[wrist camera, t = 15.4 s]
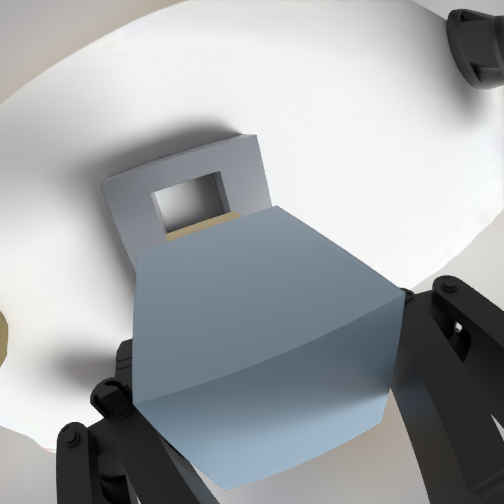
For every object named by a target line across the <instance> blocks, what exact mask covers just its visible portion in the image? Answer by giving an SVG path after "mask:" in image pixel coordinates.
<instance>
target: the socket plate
mask: <svg viewBox="0 0 504 504" xmlns="http://www.w3.org/2000/svg"><path fill="white" fill-rule="evenodd" d="M211 173H214V177H215V181H216V184H217V188H218V192H219V195H220V199H221V203H222V207H223V210H224V214H226V213H229V212H232V211H235V210H236V211H237V212H238V213H239V214H240V215H241V216H245V215H248V214H251V213H254V212H258V211H261V210H264V209H267V208H270V207H272V204H271V199H270V194H269V190H268V185H267V180H266V176H265V171H264V167H263V162H262V158H261V153H260V149H259V144H258V140H257V135H247V134H242V135H238V136H234V137H230V138H227V139H223V140H219V141H215V142H212V143H208V144H205V145H201V146H198V147H194V148H191V149H188V150H185V151H181V152H178V153H175V154H172V155H169V156H166V157H163V158H160V159H157V160H154V161H151V162H148V163H145V164H142V165H140V166H137V167H134V168H131V169H129V170H126V171H123V172H121V173H118V174H116V175H113V176H111V177H108V178H107V179H106V180H105V181H104V182H103V183H102V184H101V187H102V190H103V193H104V196H105V199H106V201H107V204H108V207H109V210H110V212H111V215H112V218H113V220H114V223H115V225H116V228H117V230H118V233H119V235H120V238H121V240H122V243H123V245H124V248H125V250H126V252H127V255H128V257H129V259H130V262H131V264H132V266H133V268H134V271H135V273H136V275H137V264H138V255H139V252H141V251H144V250H146V249H149V248H152V247H155V246H157V245H160V244H163V243H166V242H167V239H166V234H167V233H168V232H167V229H166V226H165V223H164V221H163V218H162V215H161V212H160V209H159V206H158V203H157V200H156V197H155V194H154V192H156V191H159V190H161V189H164V188H167V187H170V186H173V185H176V184H179V183H182V182H185V181H188V180H192V179H195V178H198V177H201V176H204V175H207V174H211Z"/></svg>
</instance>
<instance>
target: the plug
mask: <svg viewBox="0 0 504 504" xmlns="http://www.w3.org/2000/svg"><path fill="white" fill-rule="evenodd" d="M166 239H167V242H166V243H163V244H160V245H157V246H155V247H152V248H149V249H146V250H144V251H141V252H139V255H138V264H137V275H136V287H135V300H134V318H133V346H132V387H133V405H134V406H135V407H136V408H137V409H138V410H139V411H140V412H141V414H142V415H143V416H144V417H145V418H146V419H147V420H148V421H149V422H150V423H151V424H152V425H153V427H154V428H155V429H156V430H157V431H158V432H159V433H160V434H161V435H162V436H163V437H164V438H165V439H166V440H167V441H168V442H169V443H170V444H171V445H172V446H173V447H174V448H175V449H177V450H178V451H179V452H180V453H181V454H182V455H183V456H184V457H185V458H186V459H187V460H188V461H190V462H191V463H192V464H193V465H194V466H195V467H196V468H197V469H199V470H200V471H201V472H202V473H203V474H205V475H206V476H207V477H208V478H209V479H211V480H212V481H213V482H214V483H216V484H217V485H218V486H219V487H221V488H222V489H223V490H228V489H232V488H235V487H238V486H242V485H245V484H248V483H251V482H254V481H257V480H260V479H263V478H265V477H269V476H271V475H274V474H276V473H279V472H282V471H284V470H287V469H289V468H291V467H294V466H297V465H299V464H301V463H304V462H306V461H308V460H310V459H313V458H314V457H317V456H319V455H321V454H323V453H325V452H327V451H329V450H331V449H333V448H335V447H337V446H339V445H341V444H343V443H345V442H347V441H349V440H350V439H352V438H354V437H356V436H358V435H359V434H361V433H363V432H364V431H366V430H368V429H370V428H371V427H373V426H375V425H376V424H378V423H380V422H381V421H382V417H383V413H384V409H385V406H386V402H387V398H388V394H389V389H390V385H391V381H392V376H393V371H394V366H395V361H396V356H397V350H398V344H399V338H400V332H401V325H402V318H403V310H404V301H405V292H404V291H403V290H401V289H400V288H398V287H397V286H396V285H394V284H393V283H392V282H390V281H389V280H387V279H386V278H385V277H383V276H382V275H380V274H379V273H377V272H376V271H375V270H373V269H372V268H370V267H369V266H368V265H366V264H365V263H363V262H362V261H360V260H359V259H357V258H356V257H355V256H353V255H352V254H350V253H349V252H347V251H346V250H344V249H343V248H341V247H340V246H338V245H337V244H335V243H334V242H332V241H331V240H329V239H328V238H326V237H325V236H323V235H322V234H320V233H319V232H317V231H316V230H314V229H313V228H311V227H310V226H308V225H307V224H305V223H304V222H302V221H300V220H299V219H297V218H296V217H294V216H293V215H291V214H289V213H288V212H286V211H285V210H283V209H282V208H280V207H278V206H277V205H276V206H273V207H270V208H267V209H264V210H261V211H258V212H254V213H251V214H248V215H245V216H241V215H240V214H239V213H238V212H237V211H236V210H235V211H232V212H229V213H226V214H223V215H220V216H217V217H214V218H211V219H208V220H205V221H202V222H199V223H196V224H193V225H190V226H187V227H184V228H182V229H179V230H176V231H173V232H170V233H167V234H166Z"/></svg>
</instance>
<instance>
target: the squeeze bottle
mask: <svg viewBox="0 0 504 504" xmlns="http://www.w3.org/2000/svg"><path fill="white" fill-rule="evenodd" d="M7 342H8V325H7V322H6V320H5V318H4V316H3V315H2V313H1V312H0V367H1V365H2V363H3V362H4V360H5V358H6V356H7Z"/></svg>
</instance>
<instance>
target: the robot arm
mask: <svg viewBox="0 0 504 504" xmlns="http://www.w3.org/2000/svg"><path fill="white" fill-rule="evenodd" d="M447 31H448V37H449V42H450V46H451V49H452V52H453V55H454V58H455V60H456V62H457V65H458V67H459V69H460V70H461V72H462V74H463V76H464V77H465V78H466V80H467V81H468V82H469V83H470V84H471V85H472V86H473V87H475V88H477V89H492V88H495V87H499V86H502V85H504V16H492V15H489V14H485V13H481V12H477V11H473V10H468V9H458V10H453V11H451V12H450V13H449V15H448V19H447ZM400 289H401V290H403V291H404V292H405V301H404V310H403V318H402V325H401V332H400V338H399V344H398V350H397V356H396V361H395V366H394V371H393V376H392V381H391V385H390V387H391V390H392V392H393V395H394V397H395V400H396V402H397V405H398V407H399V410H400V413H401V416H402V418H403V421H404V423H405V426H406V429H407V432H408V435H409V438H410V441H411V443H412V446H413V449H414V452H415V455H416V458H417V461H418V464H419V468H420V470H421V474H422V477H423V481H424V484H425V487H426V490H427V494H428V498H429V501H430V504H504V441H503V438H502V436H501V434H500V432H499V430H498V428H497V426H496V424H495V422H494V420H493V418H492V416H493V417H494V418H495V419H496V420H497V421H498V422H499V424H500V425H501V426H502V427H503V428H504V311H503V310H501V309H500V308H499V307H497V306H496V305H495V304H493V303H492V302H490V301H489V300H488V299H487V298H485V297H484V296H483V295H481V294H480V293H479V292H477V291H476V290H474V289H473V288H471V287H470V286H469V285H467V284H466V283H465V282H463V281H462V280H460V279H459V278H457V277H454V276H449V275H445V276H440V277H438V278H436V279H435V280H434V282H433V285H432V290H430V291H426V292H422V293H418V294H414V293H413V292H412V291H411V290H408V289H406V288H400ZM457 322H458V323H459V324H460V325H461V326H462V329H461V330H459V329H457V328H456V324H457ZM132 346H133V338H132V339H129V340H126V341H123V342H122V343H121V344H120V346H119V348H118V350H117V355H116V362H117V363H116V371H115V377H111V378H108V379H105V380H103V381H102V382H100V383H99V384H98V385H97V386H96V387H95V388H94V390H93V391H92V394H91V396H90V403H91V405H92V406H93V407H94V408H95V409H96V410H97V411H98V412H99V413H100V414H101V415H102V416H103V417H104V418H103V419H102V420H100V421H98V422H97V423H95V424H93V425H91V426H89V427H85V426H84V425H83V424H81V423H79V422H71V423H69V424H67V425H66V426H64V427H63V428H62V429H61V431H60V433H59V434H58V438H57V450H56V485H57V504H138V500H137V497H138V499H139V501H140V502H141V504H220V503H218V501H217V499H216V498H215V497H214V496H213V494H212V493H211V492H210V490H209V489H208V488H207V486H206V485H205V483H204V482H203V481H202V479H201V478H200V476H199V475H198V474H197V472H196V471H195V469H194V468H193V466H192V465H191V464H190V462H189V461H188V460H187V459H186V458H185V457H184V456H183V455H182V454H181V453H180V452H179V451H178V450H177V449H175V448H174V447H173V446H172V445H171V444H170V443H169V442H168V441H167V440H166V439H165V438H164V437H163V436H162V435H161V434H160V433H159V432H158V431H157V430H156V429H155V428H154V427H153V425H152V424H151V423H150V422H149V421H148V420H147V419H146V418H145V417H144V416H143V415H142V414H141V412H140V411H139V410H138V409H137V408H136V407H135V406H134V405H133V387H132ZM490 413H491V414H492V416H491V414H490Z"/></svg>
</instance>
